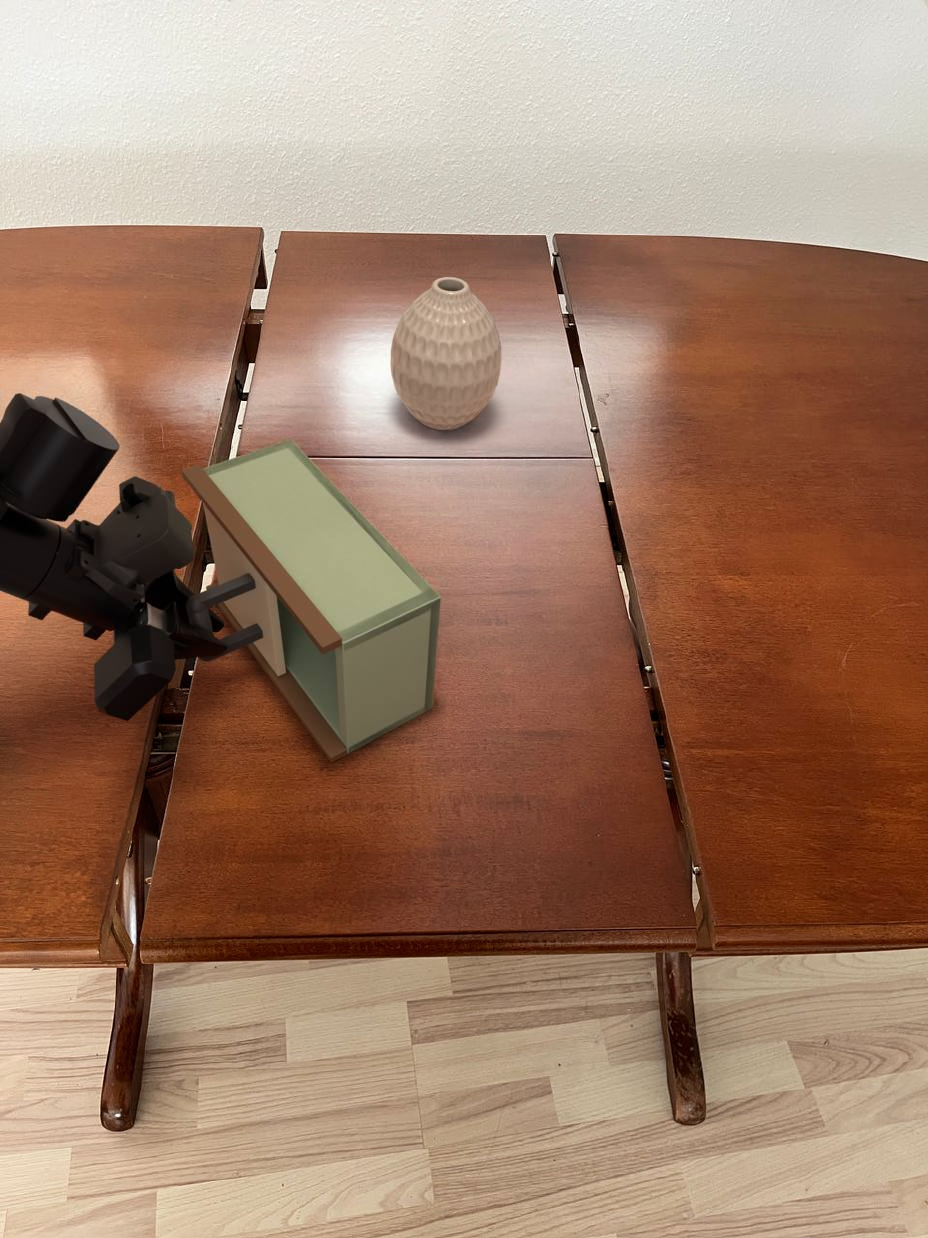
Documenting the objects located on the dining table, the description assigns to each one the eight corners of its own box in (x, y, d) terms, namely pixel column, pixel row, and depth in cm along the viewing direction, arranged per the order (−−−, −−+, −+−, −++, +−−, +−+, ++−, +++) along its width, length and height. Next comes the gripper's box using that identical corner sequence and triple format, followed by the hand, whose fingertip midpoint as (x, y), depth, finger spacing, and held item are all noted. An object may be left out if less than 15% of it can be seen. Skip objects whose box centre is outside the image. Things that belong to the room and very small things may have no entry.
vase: (486, 454, 100) (501, 321, 88) (378, 437, 101) (378, 303, 88) (501, 395, 109) (516, 266, 96) (402, 379, 109) (405, 250, 97)
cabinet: (330, 763, 70) (322, 647, 59) (206, 592, 82) (180, 469, 71) (432, 708, 75) (441, 591, 64) (301, 553, 87) (290, 432, 76)
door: (218, 705, 72) (194, 603, 63) (164, 623, 78) (135, 519, 68) (286, 672, 75) (273, 571, 66) (229, 596, 80) (210, 492, 71)
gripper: (107, 583, 51) (307, 668, 61) (103, 406, 62) (271, 503, 73) (6, 689, 54) (210, 752, 65) (20, 503, 66) (191, 582, 77)
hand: (223, 638), depth 70 cm, fingers closed
